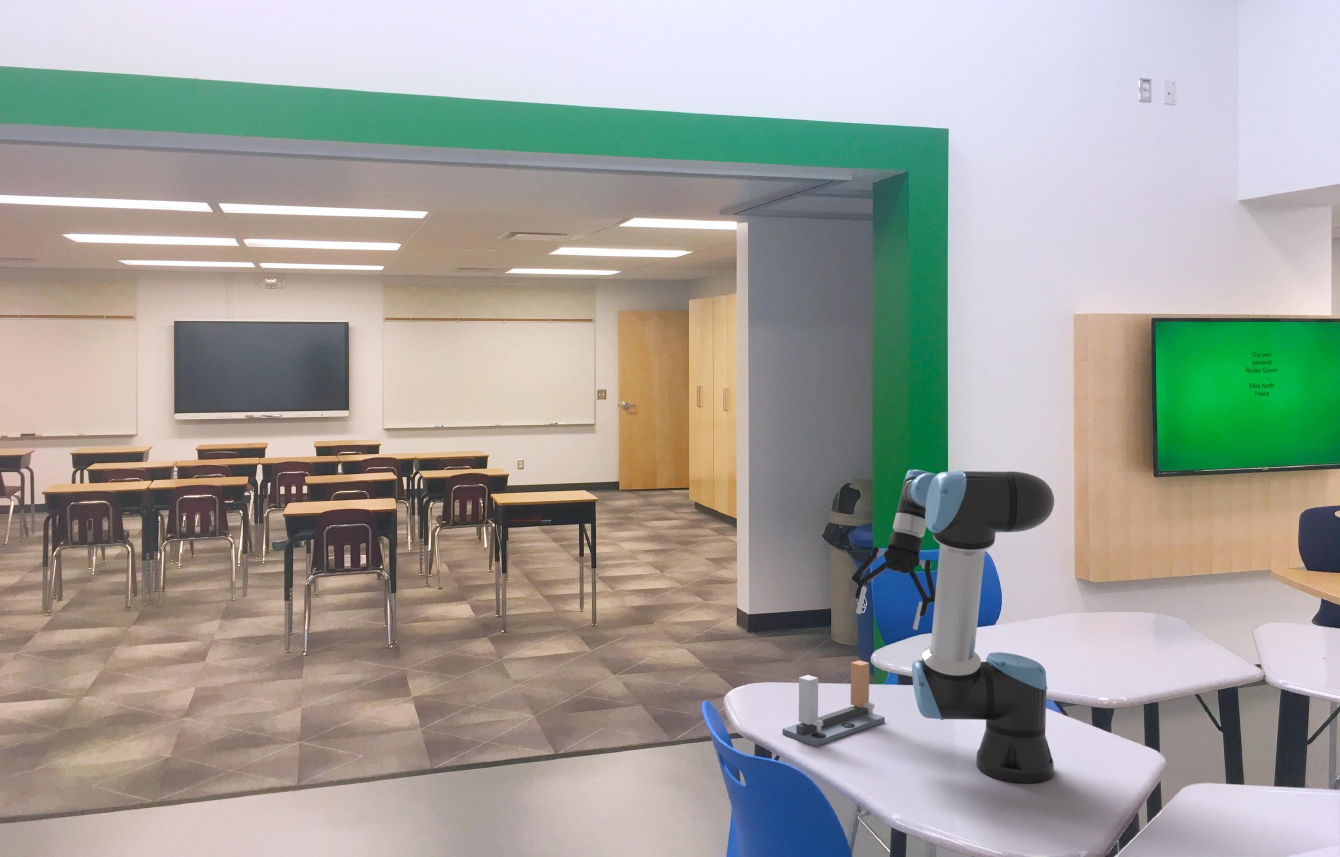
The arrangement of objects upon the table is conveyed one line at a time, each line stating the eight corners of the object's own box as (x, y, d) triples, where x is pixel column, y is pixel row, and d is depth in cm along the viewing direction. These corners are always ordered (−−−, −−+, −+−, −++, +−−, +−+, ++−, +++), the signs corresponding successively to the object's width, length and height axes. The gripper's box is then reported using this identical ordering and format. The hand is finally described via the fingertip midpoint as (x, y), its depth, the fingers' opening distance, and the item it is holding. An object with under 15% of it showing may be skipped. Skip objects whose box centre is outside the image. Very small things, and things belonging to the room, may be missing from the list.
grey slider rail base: (851, 710, 243) (851, 655, 242) (884, 721, 235) (885, 665, 235) (782, 733, 228) (783, 674, 227) (816, 746, 220) (816, 685, 219)
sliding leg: (858, 707, 239) (859, 660, 239) (876, 713, 235) (877, 665, 235) (850, 710, 237) (851, 662, 237) (868, 715, 233) (869, 667, 233)
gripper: (961, 549, 240) (940, 636, 236) (858, 524, 249) (837, 607, 245) (959, 545, 233) (938, 635, 230) (854, 519, 242) (832, 605, 239)
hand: (886, 621), depth 238 cm, fingers open, 13 cm apart
